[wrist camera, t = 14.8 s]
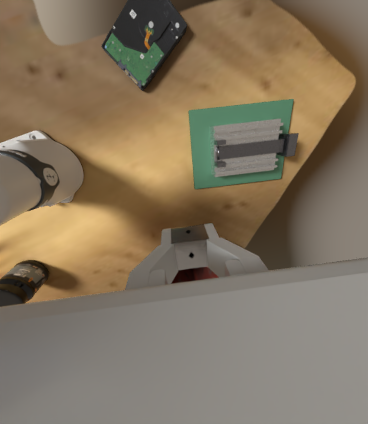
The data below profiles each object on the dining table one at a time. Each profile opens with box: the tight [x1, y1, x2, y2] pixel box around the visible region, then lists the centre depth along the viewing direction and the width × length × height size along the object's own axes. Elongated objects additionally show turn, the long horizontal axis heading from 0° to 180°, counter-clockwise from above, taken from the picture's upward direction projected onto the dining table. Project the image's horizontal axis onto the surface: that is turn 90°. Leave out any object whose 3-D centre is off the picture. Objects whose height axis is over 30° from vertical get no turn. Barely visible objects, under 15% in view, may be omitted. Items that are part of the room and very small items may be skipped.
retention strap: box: [217, 139, 285, 160], centre depth 41 cm, size 17×3×2 cm, turn 96°
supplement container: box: [0, 261, 49, 307], centre depth 53 cm, size 10×10×12 cm
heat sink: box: [210, 119, 298, 177], centre depth 42 cm, size 20×12×7 cm, turn 96°
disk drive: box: [102, 0, 187, 91], centre depth 34 cm, size 10×3×15 cm
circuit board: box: [189, 99, 294, 189], centre depth 45 cm, size 26×20×1 cm
